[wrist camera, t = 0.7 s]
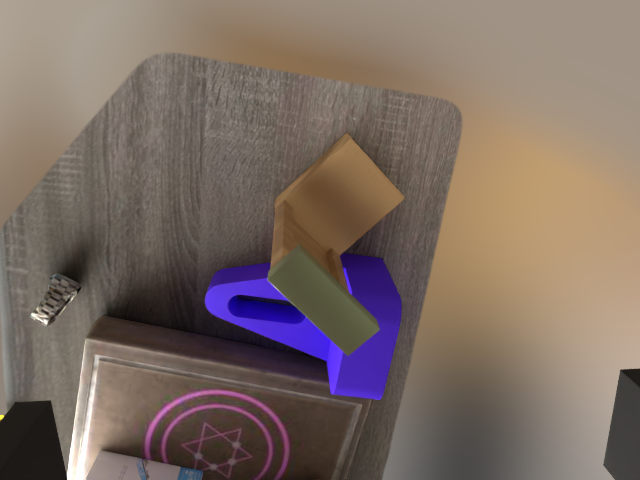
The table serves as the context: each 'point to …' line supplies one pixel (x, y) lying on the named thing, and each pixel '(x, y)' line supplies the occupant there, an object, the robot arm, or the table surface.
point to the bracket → (300, 333)
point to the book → (210, 406)
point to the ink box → (137, 469)
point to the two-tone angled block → (329, 239)
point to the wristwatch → (55, 299)
